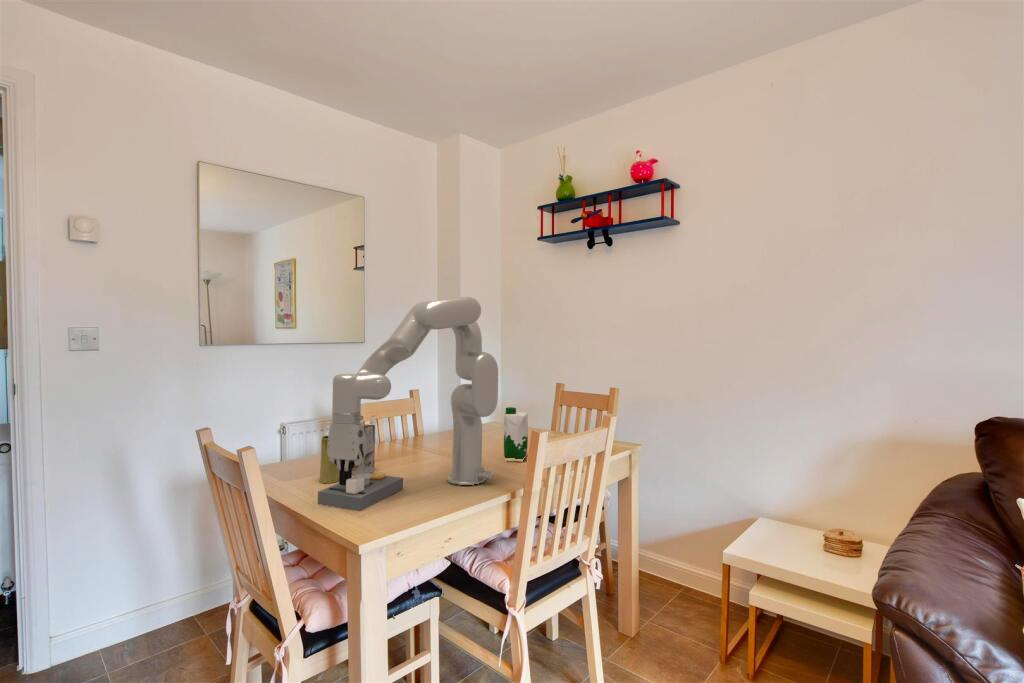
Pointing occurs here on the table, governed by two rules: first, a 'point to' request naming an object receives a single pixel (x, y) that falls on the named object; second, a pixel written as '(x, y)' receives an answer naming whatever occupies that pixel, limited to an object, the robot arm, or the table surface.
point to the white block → (355, 485)
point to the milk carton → (515, 434)
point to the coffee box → (367, 452)
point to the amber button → (377, 476)
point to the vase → (327, 465)
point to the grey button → (365, 478)
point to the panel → (360, 494)
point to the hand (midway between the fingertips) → (345, 483)
